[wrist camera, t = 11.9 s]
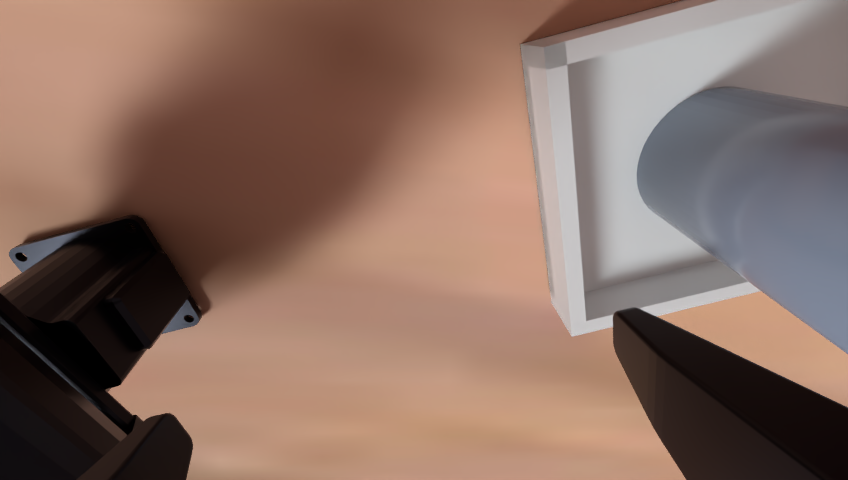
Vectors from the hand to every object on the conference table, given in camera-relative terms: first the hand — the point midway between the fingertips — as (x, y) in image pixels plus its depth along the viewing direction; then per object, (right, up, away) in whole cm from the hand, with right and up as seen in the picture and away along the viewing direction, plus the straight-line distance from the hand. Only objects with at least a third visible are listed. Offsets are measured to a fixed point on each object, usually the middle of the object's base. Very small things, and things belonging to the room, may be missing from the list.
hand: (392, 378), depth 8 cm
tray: (+14, +7, +12) cm, 20 cm away
